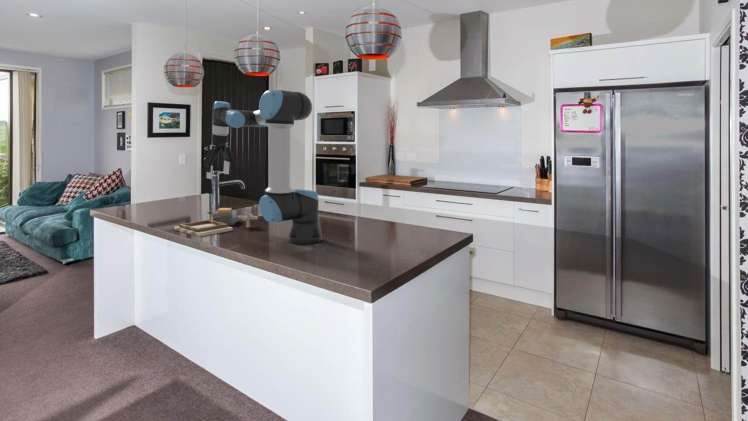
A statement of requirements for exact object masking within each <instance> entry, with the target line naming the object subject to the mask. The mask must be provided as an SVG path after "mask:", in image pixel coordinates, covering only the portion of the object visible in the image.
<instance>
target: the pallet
mask: <svg viewBox="0 0 748 421" xmlns="http://www.w3.org/2000/svg"><path fill="white" fill-rule="evenodd" d="M173 228H174V229H173V230H175V231H177V232H181V233H184V234H188V235H192V236H195V237H199V238H200V237H205V236H210V235H215V234H221V233H226V232H233V231H234V228H233V227H232V226H229V225H227V224H225V223H221V222H217V221H213V219H207V220H204V219H203V220H198V221H192V222H187V223H180V224H179V226H173Z"/></svg>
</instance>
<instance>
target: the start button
mask: <svg viewBox="0 0 748 421" xmlns="http://www.w3.org/2000/svg"><path fill="white" fill-rule="evenodd" d="M232 210H233V208H232V207H220V208H218V209H217V210H216V211H217V213H230V212H232Z"/></svg>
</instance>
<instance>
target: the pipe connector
mask: <svg viewBox="0 0 748 421" xmlns="http://www.w3.org/2000/svg"><path fill="white" fill-rule="evenodd" d="M237 219H238V220H242V222H245V227H246V228H250V227H251V223H250V222H251V220H252V221H253V220H258V219H259V216H258V215H254V214H252V213H250V207H245V215H237Z"/></svg>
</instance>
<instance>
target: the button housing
mask: <svg viewBox="0 0 748 421" xmlns="http://www.w3.org/2000/svg"><path fill="white" fill-rule="evenodd" d="M237 214H238V213H237V209H232V212H230V213H217V210H215V211H214V212H213V213H212V221H217V222H221V223H225V224H227V226H234V225H235V224H237V223H238V221H239V219H238V215H237Z"/></svg>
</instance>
